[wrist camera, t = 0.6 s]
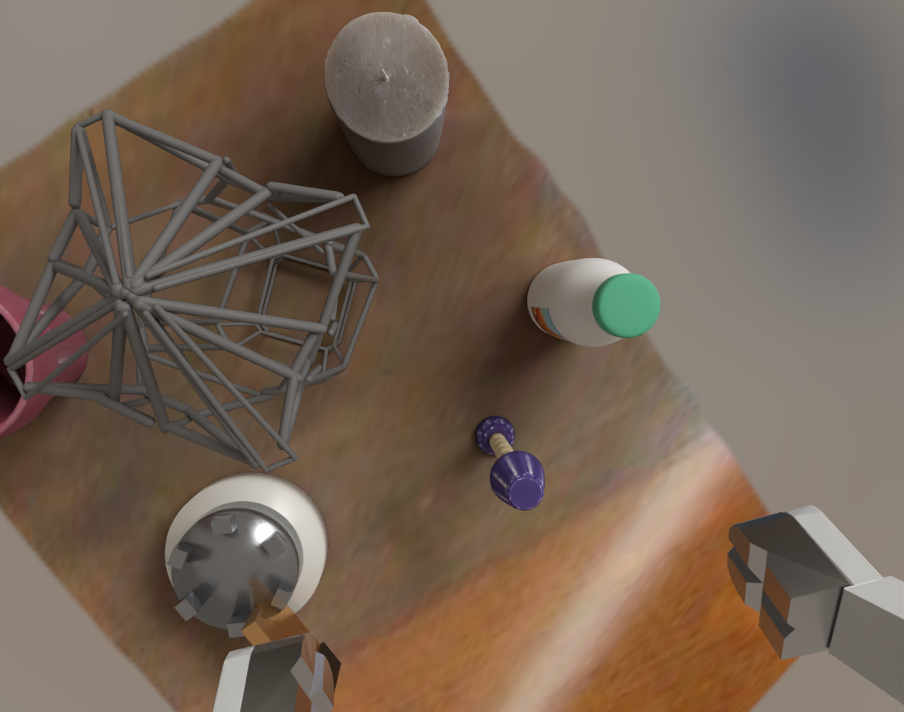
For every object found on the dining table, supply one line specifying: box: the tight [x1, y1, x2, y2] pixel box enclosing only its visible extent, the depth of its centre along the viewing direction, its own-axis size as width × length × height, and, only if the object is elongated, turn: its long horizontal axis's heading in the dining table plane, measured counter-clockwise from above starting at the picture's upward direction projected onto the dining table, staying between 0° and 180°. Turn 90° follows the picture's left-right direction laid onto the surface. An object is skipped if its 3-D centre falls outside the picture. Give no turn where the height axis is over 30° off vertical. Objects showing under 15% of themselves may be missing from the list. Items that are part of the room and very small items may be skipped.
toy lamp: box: [476, 416, 545, 510], centre depth 53 cm, size 5×5×17 cm
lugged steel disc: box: [167, 501, 341, 692], centre depth 55 cm, size 21×12×7 cm, turn 36°
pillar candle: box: [324, 12, 450, 176], centre depth 49 cm, size 10×10×15 cm
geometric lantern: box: [4, 109, 379, 473], centre depth 41 cm, size 16×16×35 cm
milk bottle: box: [527, 258, 660, 347], centre depth 50 cm, size 8×8×20 cm
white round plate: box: [165, 472, 329, 614], centre depth 60 cm, size 16×16×3 cm
